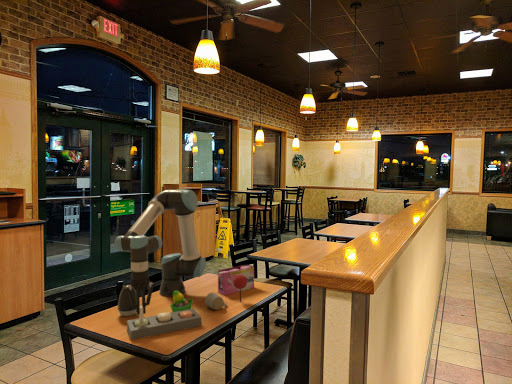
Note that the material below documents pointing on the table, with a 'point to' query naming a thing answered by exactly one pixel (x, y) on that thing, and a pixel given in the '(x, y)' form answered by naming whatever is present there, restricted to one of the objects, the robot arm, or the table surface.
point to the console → (163, 325)
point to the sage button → (141, 323)
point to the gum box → (228, 277)
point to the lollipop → (240, 282)
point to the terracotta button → (186, 314)
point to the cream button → (164, 317)
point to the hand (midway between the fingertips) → (141, 320)
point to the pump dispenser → (126, 302)
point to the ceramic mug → (214, 301)
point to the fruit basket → (180, 302)
